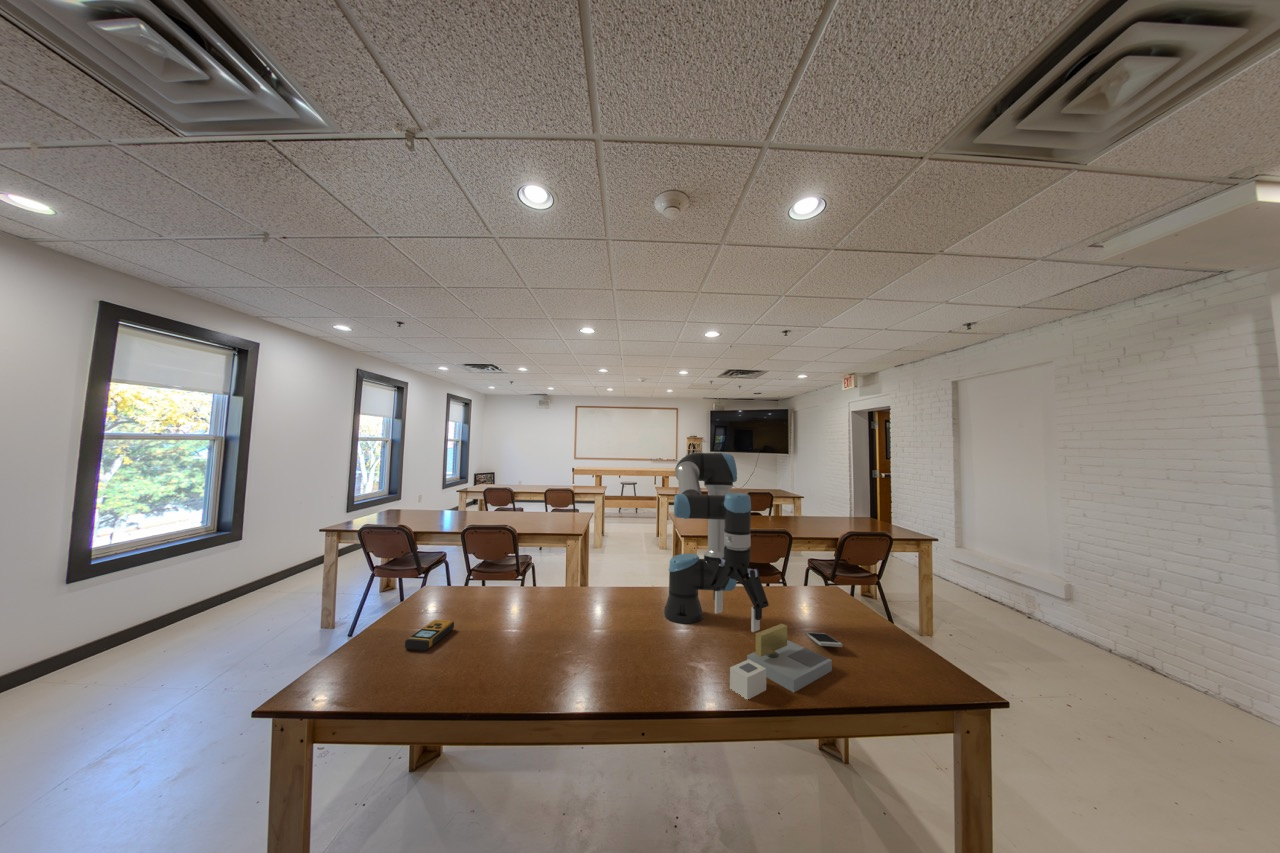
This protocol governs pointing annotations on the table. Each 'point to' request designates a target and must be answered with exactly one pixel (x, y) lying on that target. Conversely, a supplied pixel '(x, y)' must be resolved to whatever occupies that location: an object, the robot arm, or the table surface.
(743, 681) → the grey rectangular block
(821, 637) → the smartphone
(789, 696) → the table surface
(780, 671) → the housing
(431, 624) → the electronic device
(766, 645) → the yellow rectangular block
